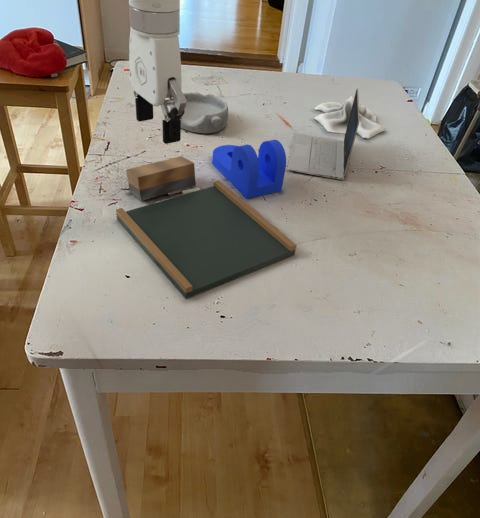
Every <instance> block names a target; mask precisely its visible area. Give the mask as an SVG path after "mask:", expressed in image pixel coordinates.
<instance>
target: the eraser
mask: <svg viewBox="0 0 480 518" xmlns="http://www.w3.org/2000/svg"><path fill="white" fill-rule="evenodd" d="M195 169H196V168H195V162H193V161H191V160H190V159H187V158H186V157H184V156H182V155H180V156H176V157H172V158H168V159H164V160H163V159H162V160H159V161H156V162H152V163H147V164H144V165H143V164H142V165H140V166H139V165H138V166H135V167H132V168H128V169H126V170H125V172H126V177H127V183H128V184H127V185H128V190H129V193H130V194H131V195H133V196H134V197H136V198H137V199H138V200H139V201H145V200H150V199H153V198H155V197H160V196H163V195H166V194H167V193H170V192H174V191H177V190H181V189H184V188H188V187H191V188H192V187H196V185H197V183H196V181H197V180H196V172H195V171H196V170H195ZM167 195H168V194H167Z"/></svg>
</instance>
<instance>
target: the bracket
mask: <svg viewBox="0 0 480 518" xmlns="http://www.w3.org/2000/svg"><path fill="white" fill-rule="evenodd" d="M211 160H212V161H211V162H212V166H213V167H214V168H215V169H216V170H217V171H218V172H219V173H220V174H221V175H222V176H223V177H224V178H225V179H226V180H227V181H228V182H229V183H230V184H231V185H232V186H233V187H234V188H235V189H236V190H237V191H238V192H239V193H240V194H241V195H242V196H243V197H244V198H245V200H249V199H253V198H258V197H261V196H267V195H270V194H274V193H279V192H282V191H283V185H284V178H285V174H286V168H287V155H286V151H285V148H284V146H283V144H282V143H281V142H280V141H279V140H278V139H269V140H264V141H262V142H261V144H260V145H259V148H258V154H257V151H256V150H255V149H254V146H252V145H251V144H243V145H234V144H224V145H219V146H217V147H215V148H214V149H213V150H212V159H211Z"/></svg>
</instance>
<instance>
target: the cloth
mask: <svg viewBox="0 0 480 518" xmlns="http://www.w3.org/2000/svg"><path fill="white" fill-rule="evenodd" d="M354 97H355V96H354V95H351V96H350V97H348V98H347V99H346V100H345V101H343V103H339V102H336V101H327V102H322V103H319V104H318V105H317V106H316V107H314V110H316V111H321V112H323V113H320V114H317V115H316V116H315V117H313V119H314V120H315V121H316V122H318V123H319V124H320V125H321V126H322V127H323V128H324V129H325V130H326V132H328V133H334V134H342V135H345V134H346V130H347V125H348V121H349V117H350V113H351V109H352V105H353V101H354ZM385 131H386V130H385V128H384V126H383V125H381V124H380V123H378V122H377V115H376V114H375V113H374V112H373V111H372V110H371V109H369V108H368V107H366V106H365V105H364V104H361V103H359V126H358V129H357V133H356V134H358V135H359V136H360V137H361V138H363V139H367V140H369V139H370V138H372V137H375V136H376V135H378V134H380V133H382V132H385Z"/></svg>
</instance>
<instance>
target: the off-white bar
mask: <svg viewBox="0 0 480 518" xmlns="http://www.w3.org/2000/svg"><path fill="white" fill-rule="evenodd" d="M198 190H201V189H200V188H199V187H193V188H191V189H188V190H183V191H182V192H181V194H182V195H185V194H188V193H192V192H195V191H198Z"/></svg>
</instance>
